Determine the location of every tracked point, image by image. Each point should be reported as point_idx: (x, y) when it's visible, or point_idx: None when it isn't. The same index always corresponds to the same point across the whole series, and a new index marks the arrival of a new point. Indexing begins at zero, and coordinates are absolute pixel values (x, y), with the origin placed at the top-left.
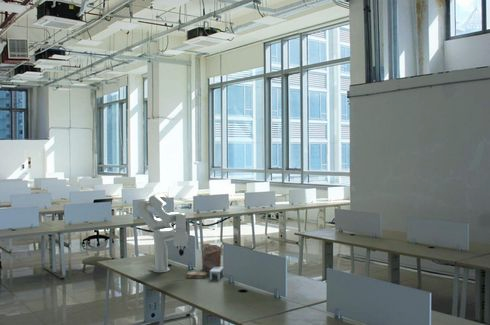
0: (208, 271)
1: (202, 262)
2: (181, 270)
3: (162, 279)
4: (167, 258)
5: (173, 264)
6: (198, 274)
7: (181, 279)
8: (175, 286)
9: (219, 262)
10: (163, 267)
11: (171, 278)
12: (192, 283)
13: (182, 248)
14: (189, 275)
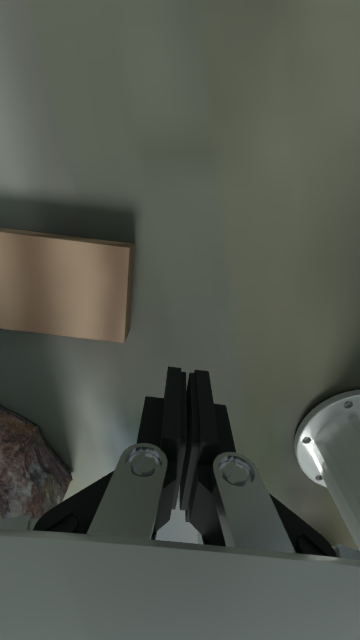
0: (9, 412)
1: (47, 505)
2: None
3: (345, 174)
4: (354, 523)
5: None
6: (12, 237)
7: (167, 177)
8: None
9: None
10: (355, 428)
11: (263, 213)
12: (24, 5)
13: (136, 484)
14: (102, 242)
